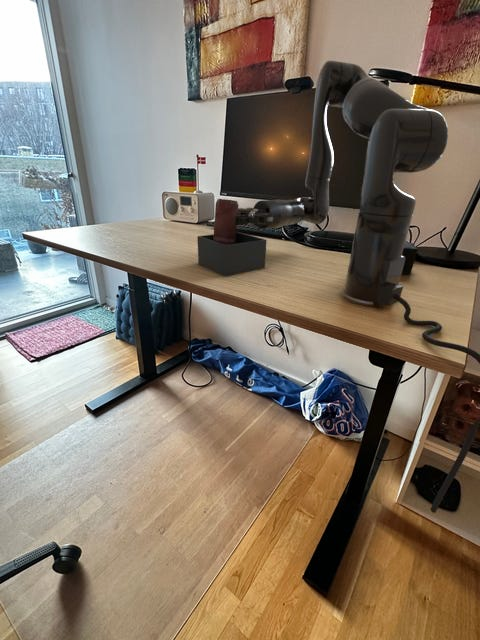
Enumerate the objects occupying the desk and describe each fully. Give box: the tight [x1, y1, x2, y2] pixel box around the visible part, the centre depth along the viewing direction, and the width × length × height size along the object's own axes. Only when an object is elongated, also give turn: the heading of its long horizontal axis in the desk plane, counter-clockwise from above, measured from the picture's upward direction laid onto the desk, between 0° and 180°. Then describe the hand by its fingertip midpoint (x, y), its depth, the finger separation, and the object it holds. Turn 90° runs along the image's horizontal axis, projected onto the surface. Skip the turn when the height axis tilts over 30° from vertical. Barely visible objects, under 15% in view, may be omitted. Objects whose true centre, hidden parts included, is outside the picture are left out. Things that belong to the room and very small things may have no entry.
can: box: [213, 198, 240, 245], centre depth 81 cm, size 6×6×14 cm
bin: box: [196, 231, 268, 277], centre depth 81 cm, size 13×13×8 cm
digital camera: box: [401, 240, 419, 275], centre depth 82 cm, size 10×5×7 cm, turn 168°
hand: (225, 218), depth 76 cm, fingers open, 7 cm apart
